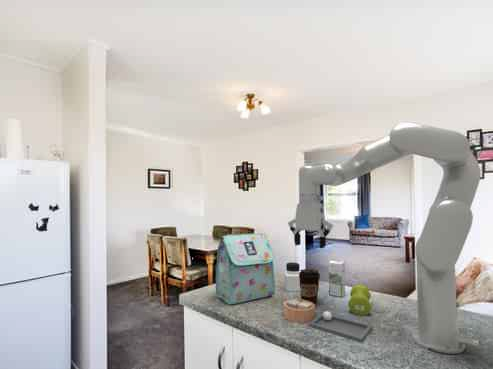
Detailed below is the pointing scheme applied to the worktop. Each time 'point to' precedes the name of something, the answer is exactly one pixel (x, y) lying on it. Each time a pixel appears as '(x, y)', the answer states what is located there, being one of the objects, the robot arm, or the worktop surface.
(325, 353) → the worktop surface
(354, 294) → the dumbbell
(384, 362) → the worktop surface
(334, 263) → the clear bottle
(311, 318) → the bowl
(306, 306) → the cream cube
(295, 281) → the medicine bottle
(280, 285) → the worktop surface
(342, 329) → the tray
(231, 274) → the lunch bag
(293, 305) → the grey sharp-edged block
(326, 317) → the pebble
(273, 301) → the worktop surface
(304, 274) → the coffee cup
